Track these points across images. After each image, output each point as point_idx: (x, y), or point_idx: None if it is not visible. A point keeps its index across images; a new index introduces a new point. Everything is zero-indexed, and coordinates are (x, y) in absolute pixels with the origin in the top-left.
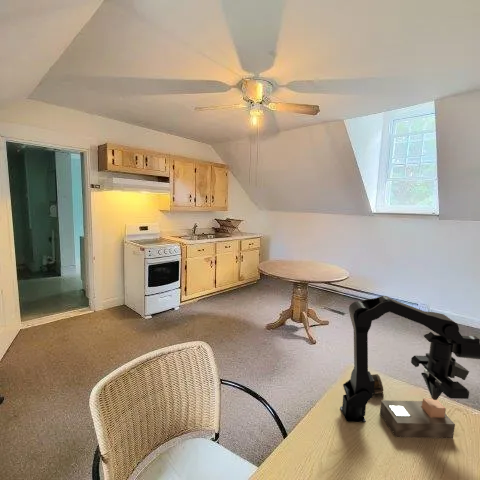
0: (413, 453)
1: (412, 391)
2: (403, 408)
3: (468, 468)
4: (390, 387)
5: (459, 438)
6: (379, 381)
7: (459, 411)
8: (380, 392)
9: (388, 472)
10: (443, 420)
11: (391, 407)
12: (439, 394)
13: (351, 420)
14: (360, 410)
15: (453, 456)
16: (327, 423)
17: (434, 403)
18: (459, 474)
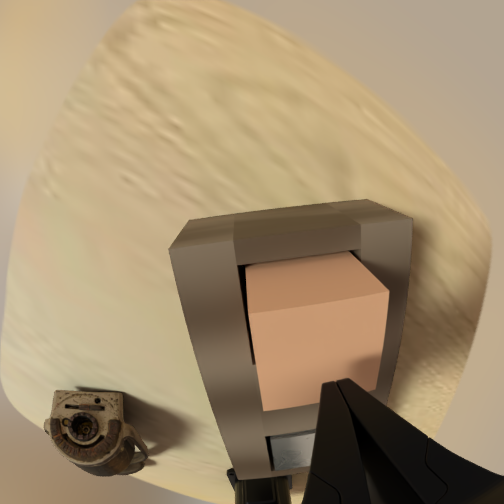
0: (413, 381)
1: (24, 238)
2: (288, 439)
3: (479, 235)
4: (39, 333)
5: (362, 161)
6: (106, 462)
7: (135, 36)
8: (136, 432)
9: (435, 427)
10: (382, 279)
11: (285, 467)
12: (405, 431)
13: (291, 484)
14: (287, 498)
15: (443, 259)
16: (297, 501)
17: (328, 358)
18: (486, 279)
